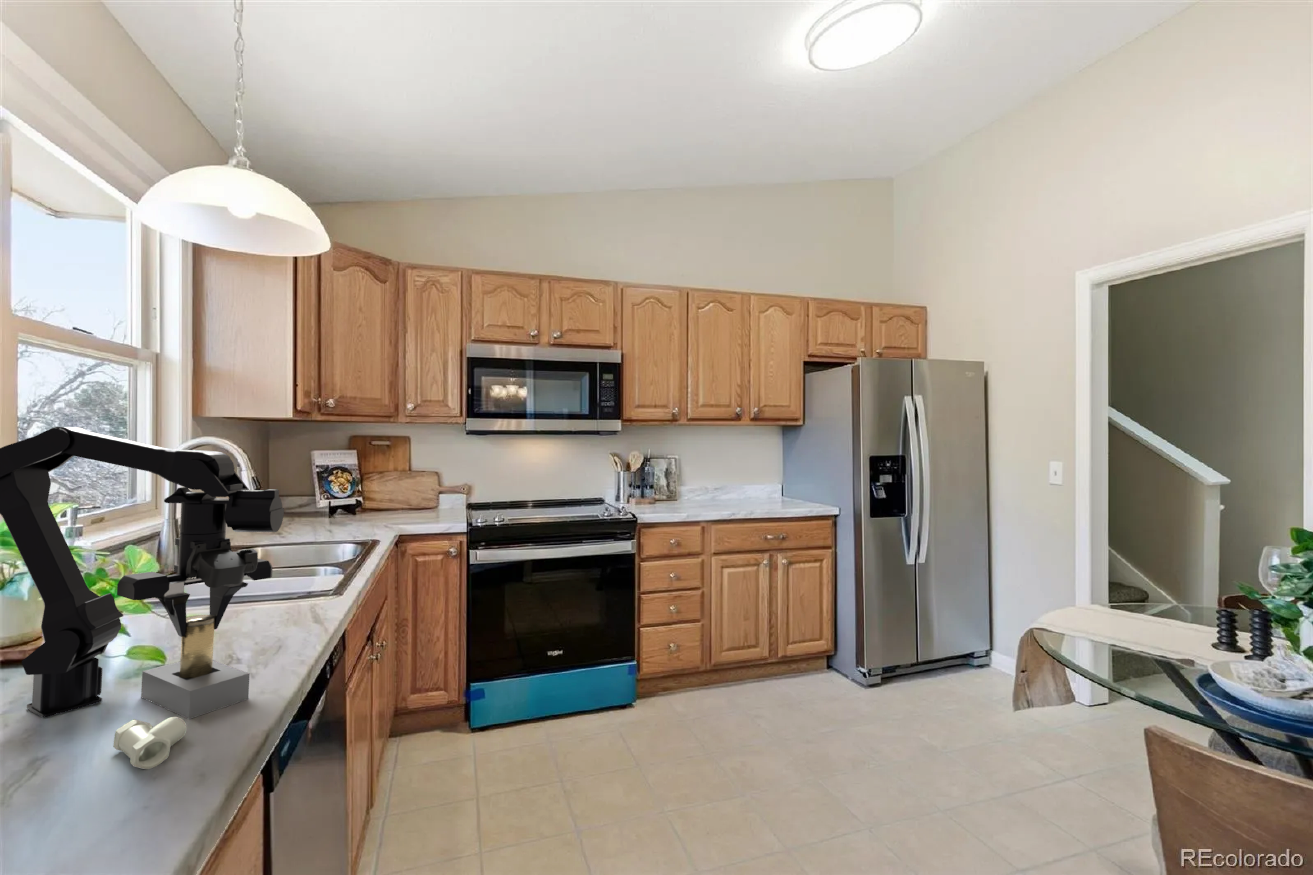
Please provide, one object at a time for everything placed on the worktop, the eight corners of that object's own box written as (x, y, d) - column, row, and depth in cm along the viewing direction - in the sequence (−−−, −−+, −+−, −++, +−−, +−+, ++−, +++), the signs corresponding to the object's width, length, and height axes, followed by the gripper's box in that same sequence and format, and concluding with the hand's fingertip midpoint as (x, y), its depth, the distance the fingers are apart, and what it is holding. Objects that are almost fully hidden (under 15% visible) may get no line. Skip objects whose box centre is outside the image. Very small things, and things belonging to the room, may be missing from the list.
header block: (188, 719, 85) (190, 691, 85) (141, 697, 92) (142, 671, 92) (248, 699, 92) (249, 673, 92) (200, 680, 99) (201, 655, 99)
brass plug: (187, 680, 89) (190, 623, 89) (174, 674, 91) (177, 619, 91) (217, 671, 93) (220, 617, 93) (203, 666, 95) (206, 613, 95)
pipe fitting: (176, 738, 81) (111, 754, 76) (180, 708, 81) (116, 722, 76) (199, 756, 77) (132, 775, 71) (204, 725, 77) (137, 741, 71)
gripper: (156, 545, 80) (150, 661, 80) (294, 530, 97) (289, 626, 97) (118, 537, 85) (112, 645, 85) (255, 524, 102) (250, 615, 102)
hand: (198, 632), depth 92 cm, fingers closed on brass plug, 4 cm apart
